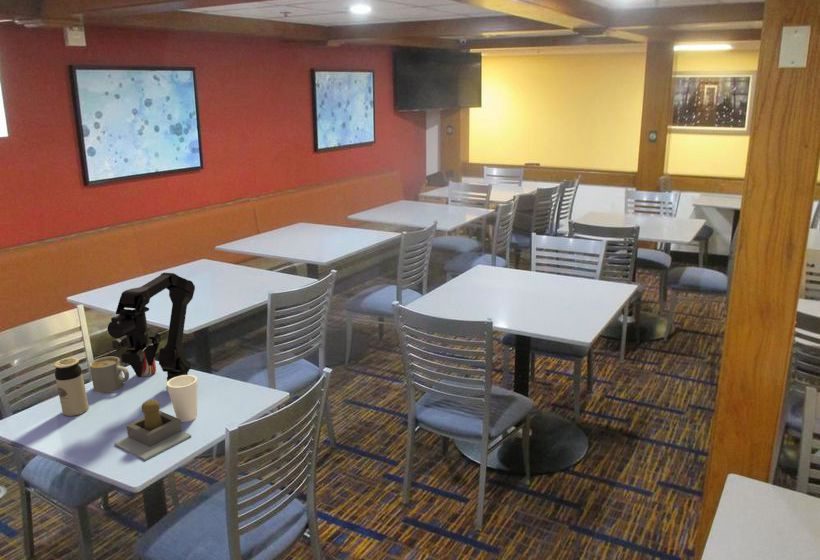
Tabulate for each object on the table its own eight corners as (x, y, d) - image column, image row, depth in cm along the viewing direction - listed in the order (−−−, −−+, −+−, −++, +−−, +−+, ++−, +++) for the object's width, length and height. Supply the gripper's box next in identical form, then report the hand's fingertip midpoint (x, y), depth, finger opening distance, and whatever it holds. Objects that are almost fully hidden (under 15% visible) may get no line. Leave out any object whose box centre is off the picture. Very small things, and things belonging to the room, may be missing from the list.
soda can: (133, 375, 252) (128, 346, 248) (147, 368, 258) (143, 339, 254) (146, 379, 248) (141, 349, 245) (161, 371, 254) (156, 342, 251)
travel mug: (82, 403, 231) (72, 355, 226) (93, 409, 226) (83, 360, 221) (58, 412, 225) (48, 363, 220) (69, 419, 220) (59, 369, 215)
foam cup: (207, 416, 219) (202, 380, 215) (181, 427, 212) (175, 390, 209) (192, 407, 225) (187, 372, 221) (166, 418, 219) (161, 381, 215)
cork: (153, 440, 204) (147, 408, 201) (140, 435, 207) (135, 403, 204) (169, 431, 209) (164, 399, 206) (156, 427, 212) (151, 395, 209)
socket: (160, 423, 216) (158, 410, 214) (191, 436, 207) (189, 423, 205) (114, 445, 203) (112, 431, 202) (145, 460, 194) (143, 446, 193)
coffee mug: (87, 391, 240) (83, 365, 237) (108, 379, 249) (104, 355, 246) (116, 396, 236) (112, 370, 233) (137, 384, 244) (133, 359, 241)
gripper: (125, 318, 228) (132, 360, 233) (100, 338, 210) (108, 384, 215) (158, 317, 228) (164, 359, 232) (135, 337, 210) (143, 383, 215)
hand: (145, 371), depth 224 cm, fingers open, 9 cm apart
